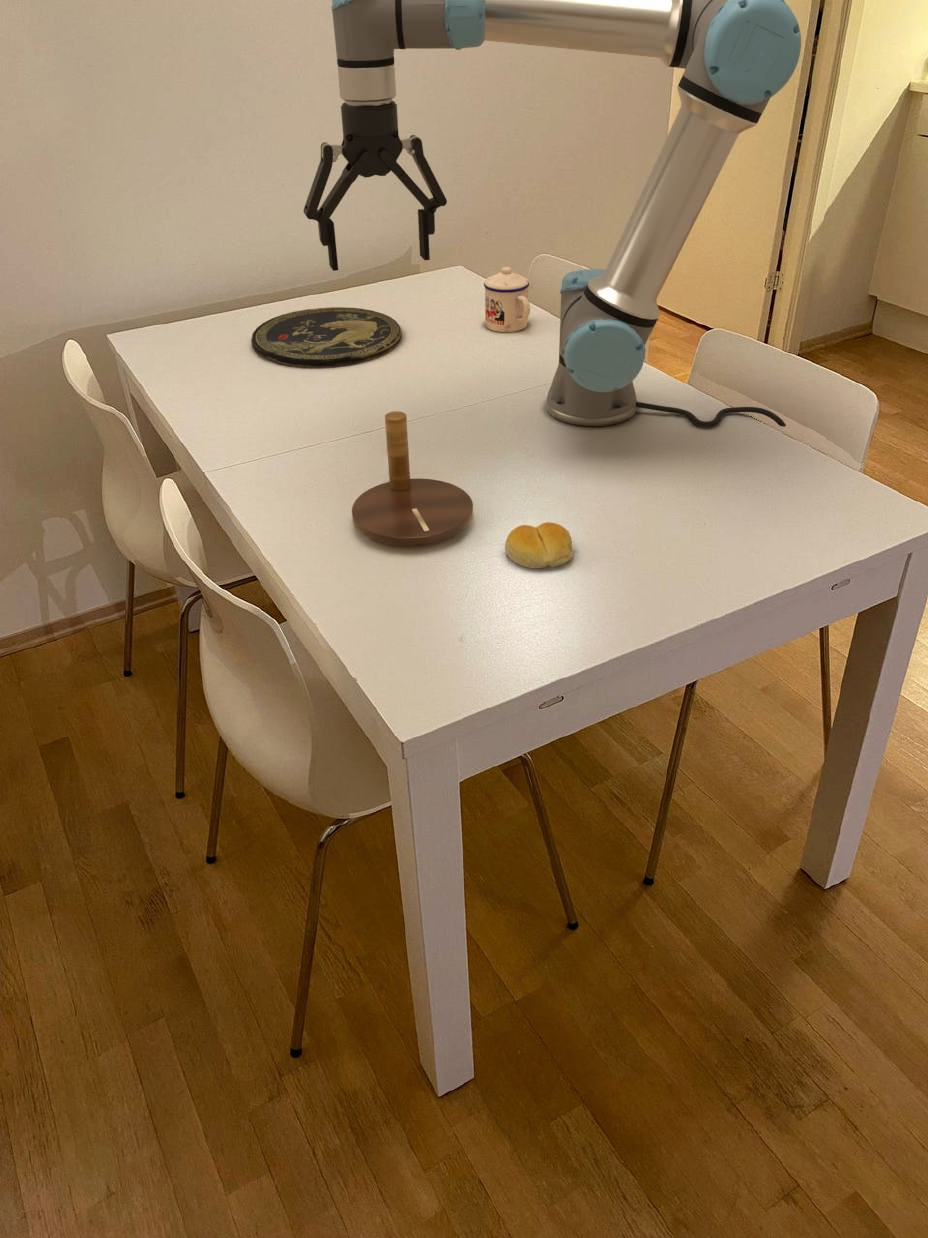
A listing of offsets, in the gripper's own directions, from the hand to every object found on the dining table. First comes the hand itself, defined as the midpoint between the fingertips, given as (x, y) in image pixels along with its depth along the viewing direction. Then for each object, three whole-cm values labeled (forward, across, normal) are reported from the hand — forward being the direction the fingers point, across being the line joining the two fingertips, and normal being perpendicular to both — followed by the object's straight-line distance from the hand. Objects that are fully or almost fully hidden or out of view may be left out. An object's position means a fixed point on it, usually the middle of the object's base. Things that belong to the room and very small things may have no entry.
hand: (379, 262), depth 147 cm
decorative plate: (+29, +1, -50) cm, 58 cm away
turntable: (+27, +3, +26) cm, 38 cm away
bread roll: (+29, -11, +40) cm, 50 cm away
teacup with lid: (+29, -36, -44) cm, 64 cm away
